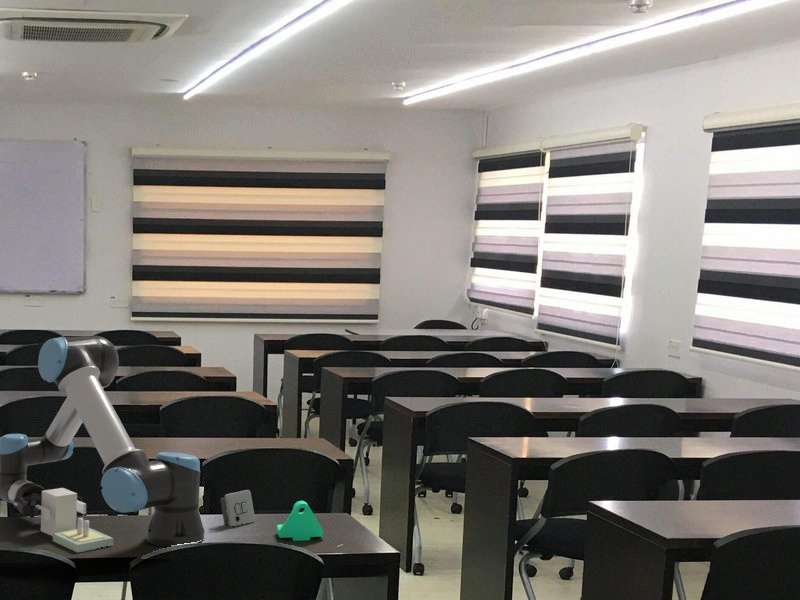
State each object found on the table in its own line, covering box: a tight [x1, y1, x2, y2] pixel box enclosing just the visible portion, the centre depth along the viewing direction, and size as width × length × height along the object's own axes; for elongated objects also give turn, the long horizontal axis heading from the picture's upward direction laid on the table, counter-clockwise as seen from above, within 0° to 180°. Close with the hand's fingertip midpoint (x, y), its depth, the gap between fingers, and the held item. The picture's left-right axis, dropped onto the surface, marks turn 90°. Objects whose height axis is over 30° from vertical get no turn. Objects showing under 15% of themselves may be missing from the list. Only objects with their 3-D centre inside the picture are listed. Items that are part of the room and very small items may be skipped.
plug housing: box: [40, 487, 78, 537], centre depth 270 cm, size 8×6×11 cm
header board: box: [52, 517, 114, 553], centre depth 261 cm, size 13×10×6 cm
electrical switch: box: [220, 489, 256, 527], centre depth 287 cm, size 9×5×9 cm, turn 141°
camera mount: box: [276, 500, 325, 542], centre depth 276 cm, size 12×8×10 cm, turn 104°
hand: (66, 511), depth 267 cm, fingers open, 10 cm apart
